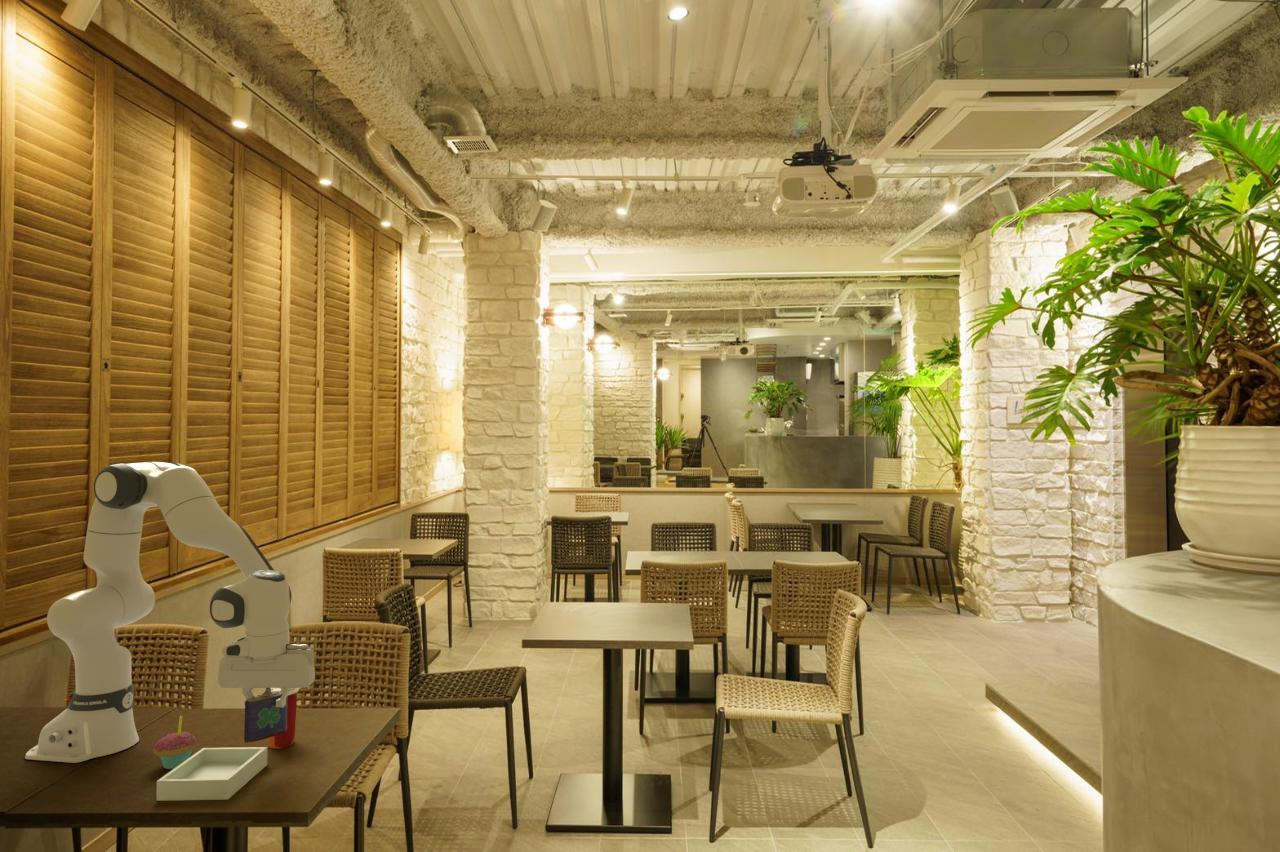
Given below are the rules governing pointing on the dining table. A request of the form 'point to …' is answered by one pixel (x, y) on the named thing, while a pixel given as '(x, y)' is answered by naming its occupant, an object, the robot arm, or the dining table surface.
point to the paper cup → (289, 735)
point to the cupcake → (175, 747)
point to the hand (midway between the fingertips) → (266, 706)
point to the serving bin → (212, 774)
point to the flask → (264, 717)
